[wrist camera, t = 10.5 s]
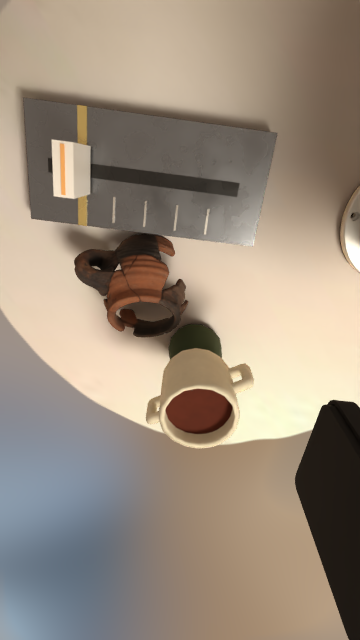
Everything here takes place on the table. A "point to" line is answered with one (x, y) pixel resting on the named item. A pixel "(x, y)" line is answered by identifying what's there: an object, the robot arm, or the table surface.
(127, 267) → the pottery mug
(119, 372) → the table surface
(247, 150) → the console
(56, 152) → the fader tab
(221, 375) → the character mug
